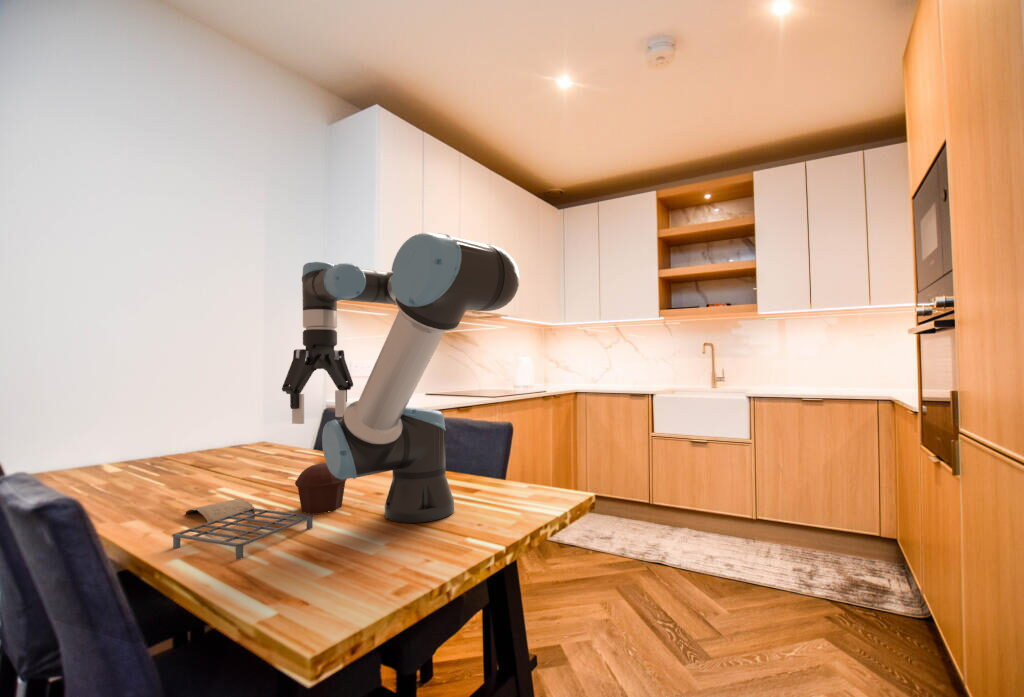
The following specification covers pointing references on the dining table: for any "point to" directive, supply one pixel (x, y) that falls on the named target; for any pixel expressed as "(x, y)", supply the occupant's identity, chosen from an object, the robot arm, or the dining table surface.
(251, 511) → the cooling rack
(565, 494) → the dining table surface
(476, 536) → the dining table surface
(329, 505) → the muffin
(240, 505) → the curved bark piece
